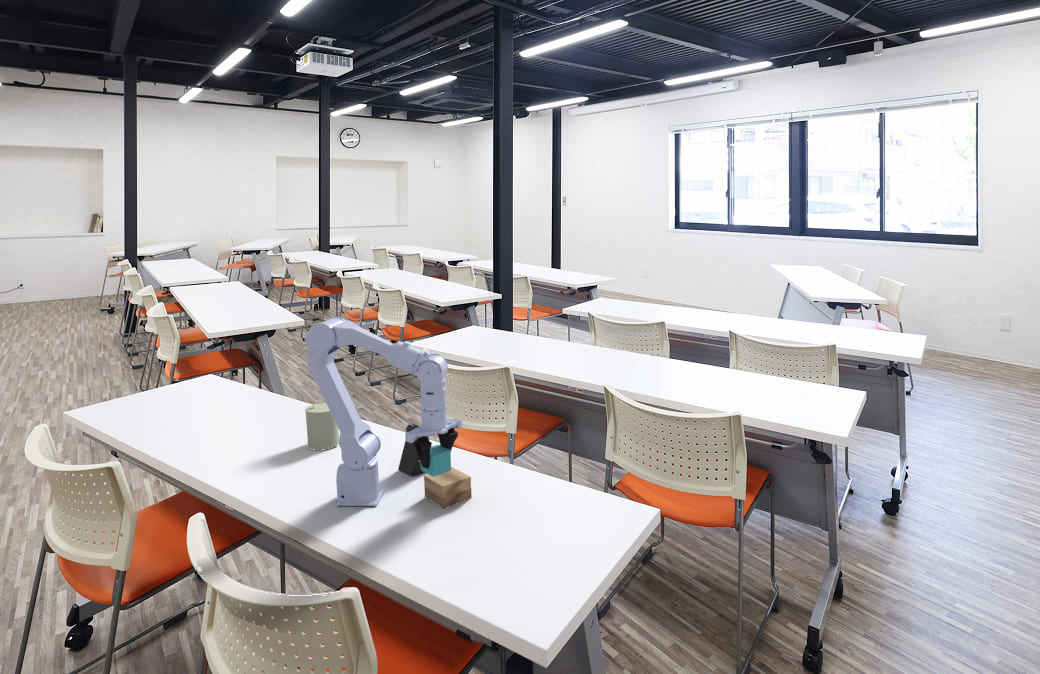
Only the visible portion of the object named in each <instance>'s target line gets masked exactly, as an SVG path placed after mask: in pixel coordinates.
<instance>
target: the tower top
mask: <svg viewBox="0 0 1040 674" xmlns="http://www.w3.org/2000/svg"><path fill="white" fill-rule="evenodd" d="M423 485H424V489H425V488H427V489H428V490H430V491H432V492H433V493H435V494H437V495H438V496H440V497H442V498H446V497H449V496H452V495H454V494H457V493H460V492H463V491H466V490H468V489H471V490H472V477H471V476H470V475H468V474H466V473H464V472H462V471H461V470H458V469H456V468H455V467H453V466H451V471H448V472H445V473H443V474H440V475H437V476H434V477H433V476H431V475H429V474H427V473H426V474H424V476H423Z"/></svg>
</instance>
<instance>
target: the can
mask: <svg viewBox="0 0 1040 674" xmlns="http://www.w3.org/2000/svg"><path fill="white" fill-rule="evenodd" d="M304 411H305V419H306V420H305V421H306V435H307V445H308V447H309V448H311V449H315V450H322V449H329V448H332V447H335V446H337V445H338V444H339V438H340V430H339V428H338V426H337V424H336V422H335V420H334V418H333V416H332V414H331V412H330V410H329V408H328V406H327V404H326V402H323V403H321V402H320V403H314V404H312V405H311V404H310V405H308V406H307V407H305V409H304ZM308 447H307V448H308ZM337 447H338V446H337ZM309 448H308V449H309ZM311 449H310V450H311ZM315 450H314V451H315ZM329 450H330V449H329Z"/></svg>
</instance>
